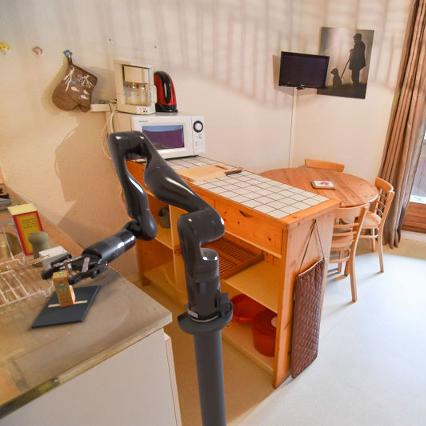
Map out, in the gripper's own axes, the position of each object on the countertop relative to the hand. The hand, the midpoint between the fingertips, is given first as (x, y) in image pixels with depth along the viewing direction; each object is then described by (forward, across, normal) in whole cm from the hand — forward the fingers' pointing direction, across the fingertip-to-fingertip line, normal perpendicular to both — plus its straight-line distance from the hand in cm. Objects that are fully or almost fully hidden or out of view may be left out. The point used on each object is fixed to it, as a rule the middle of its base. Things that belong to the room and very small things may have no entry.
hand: (56, 280), depth 86 cm
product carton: (-14, -18, +10) cm, 25 cm away
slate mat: (-1, 0, +10) cm, 10 cm away
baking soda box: (-23, -38, +10) cm, 46 cm away
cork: (-17, -26, +10) cm, 33 cm away
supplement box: (-1, 0, +9) cm, 9 cm away
